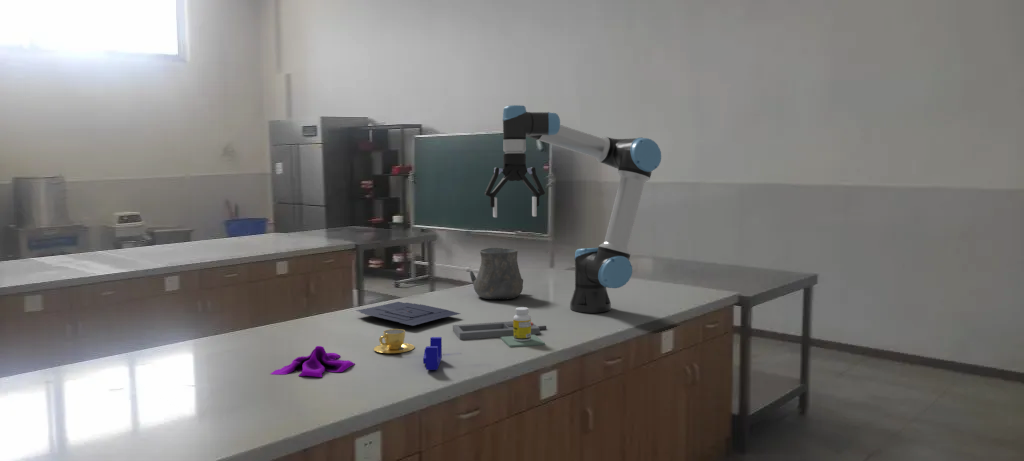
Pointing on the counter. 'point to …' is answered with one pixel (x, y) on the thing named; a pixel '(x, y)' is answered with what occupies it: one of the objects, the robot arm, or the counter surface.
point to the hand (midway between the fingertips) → (514, 216)
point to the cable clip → (433, 353)
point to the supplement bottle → (522, 325)
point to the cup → (393, 342)
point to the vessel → (498, 274)
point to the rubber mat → (512, 343)
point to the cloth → (315, 364)
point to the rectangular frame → (490, 330)
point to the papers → (407, 313)
